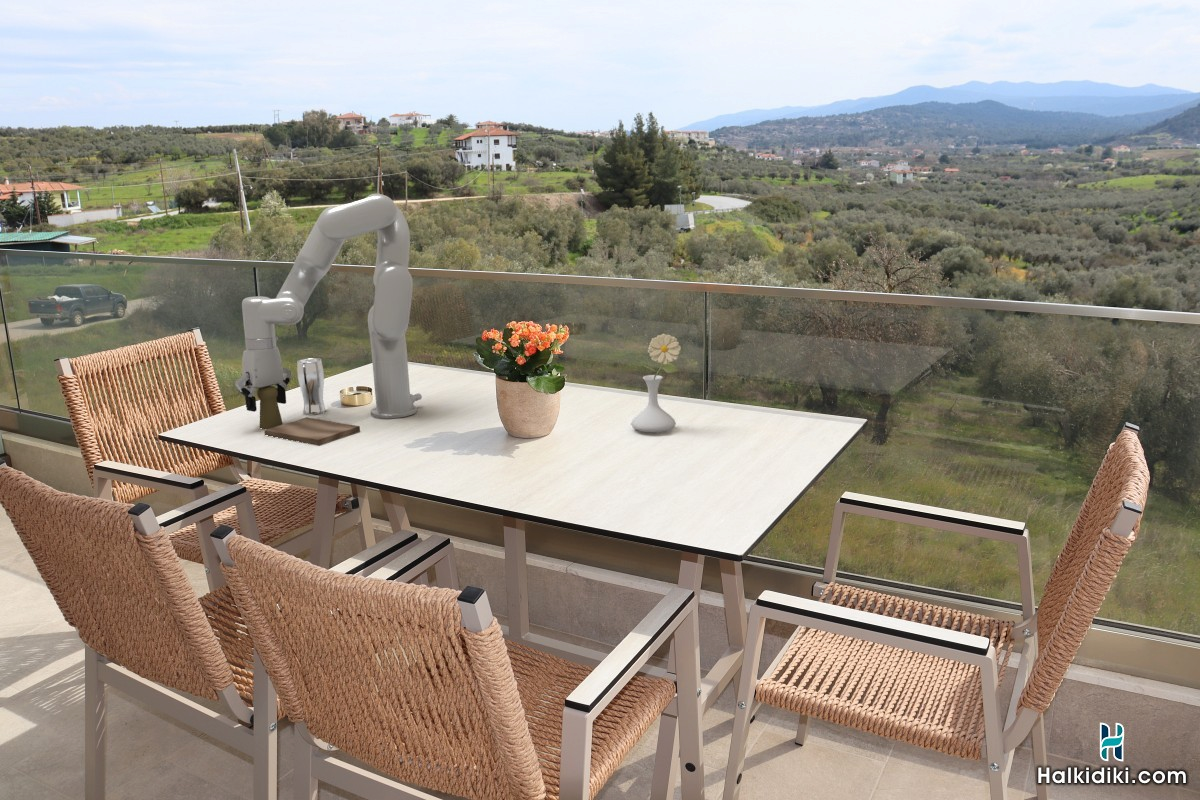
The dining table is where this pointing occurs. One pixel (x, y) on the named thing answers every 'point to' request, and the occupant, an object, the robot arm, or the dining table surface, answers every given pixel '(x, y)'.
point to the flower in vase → (653, 415)
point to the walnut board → (312, 431)
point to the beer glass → (311, 384)
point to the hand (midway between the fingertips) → (266, 406)
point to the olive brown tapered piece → (269, 407)
